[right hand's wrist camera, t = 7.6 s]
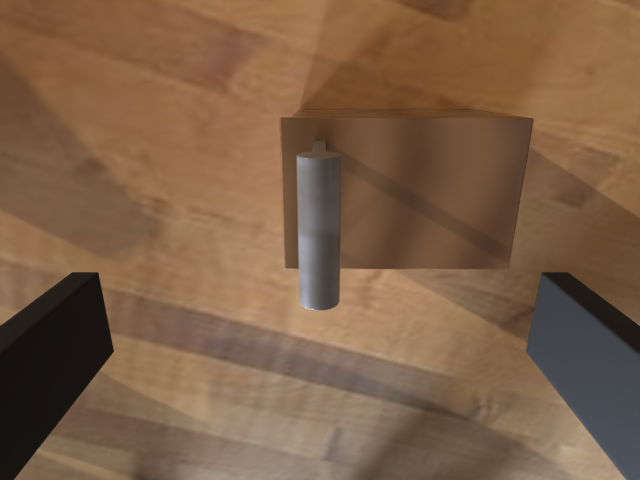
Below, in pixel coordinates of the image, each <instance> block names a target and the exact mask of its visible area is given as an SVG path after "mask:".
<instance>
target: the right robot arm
mask: <svg viewBox="0 0 640 480" xmlns="http://www.w3.org/2000/svg"><path fill="white" fill-rule="evenodd" d="M113 352H114V349H113V344H112V339H111V334H110V329H109V324H108V319H107V314H106V309H105V304H104V299H103V294H102V289H101V284H100V279H99V274H98V272H72V273H71V274H70V275H68V276H67V277H65V278H64V279H63V280H61V281H60V282H59V283H57V284H56V285H55V286H53V287H52V288H51V289H49V290H48V291H47V292H45V293H44V294H43V295H41V296H40V297H39V298H37V299H36V300H35V301H33V302H32V303H31V304H29V305H28V306H27V307H25V308H24V309H23V310H21V311H20V312H19V313H17V314H16V315H15V316H13V317H12V318H11V319H9V320H8V321H7V322H5V323H4V324H2V325H1V326H0V480H14V479H15V477H16V476H17V475H18V474H19V472H20V471H21V470H22V469H23V467H24V466H25V465H26V463H27V462H28V461H29V460H30V458H31V457H32V456H33V454H34V453H35V452H36V451H37V449H38V448H39V447H40V445H41V444H42V443H43V442H44V440H45V439H46V438H47V437H48V435H49V434H50V433H51V431H52V430H53V429H54V428H55V426H56V425H57V424H58V422H59V421H60V420H61V419H62V417H63V416H64V415H65V413H66V412H67V411H68V410H69V408H70V407H71V406H72V405H73V403H74V402H75V401H76V399H77V398H78V397H79V396H80V394H81V393H82V392H83V390H84V389H85V388H86V387H87V385H88V384H89V383H90V381H91V380H92V379H93V378H94V376H95V375H96V374H97V372H98V371H99V370H100V369H101V367H102V366H103V365H104V364H105V362H106V361H107V360H108V358H109V357H110V356H111V355H112V353H113ZM526 352H527V353H528V355H529V356H530V357H531V358H532V360H533V361H534V362H535V364H536V365H537V366H538V367H539V369H540V370H541V371H542V372H543V374H544V375H545V376H546V378H547V379H548V380H549V381H550V383H551V384H552V385H553V387H554V388H555V389H556V390H557V392H558V393H559V394H560V396H561V397H562V398H563V399H564V401H565V402H566V403H567V405H568V406H569V407H570V408H571V410H572V411H573V412H574V413H575V415H576V416H577V417H578V419H579V420H580V421H581V422H582V424H583V425H584V426H585V428H586V429H587V430H588V431H589V433H590V434H591V435H592V437H593V438H594V439H595V440H596V442H597V443H598V444H599V445H600V447H601V448H602V449H603V451H604V452H605V453H606V454H607V456H608V457H609V458H610V460H611V461H612V462H613V463H614V465H615V466H616V467H617V469H618V470H619V471H620V472H621V474H622V475H623V476H624V477H625V479H626V480H640V326H639V325H638V324H636V323H635V322H633V321H632V320H631V319H629V318H628V317H627V316H625V315H624V314H623V313H621V312H620V311H619V310H617V309H616V308H615V307H613V306H612V305H611V304H609V303H608V302H607V301H605V300H604V299H603V298H601V297H600V296H599V295H597V294H596V293H595V292H593V291H592V290H591V289H589V288H588V287H587V286H585V285H584V284H583V283H581V282H580V281H579V280H577V279H576V278H575V277H573V276H572V275H570V274H569V273H568V272H542V274H541V279H540V284H539V289H538V294H537V299H536V304H535V309H534V314H533V319H532V324H531V329H530V334H529V339H528V344H527V349H526Z"/></svg>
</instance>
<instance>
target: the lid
mask: <svg viewBox="0 0 640 480" xmlns="http://www.w3.org/2000/svg"><path fill="white" fill-rule="evenodd" d="M532 126H533V118H528V117H282V118H280V149H281V181H282V212H283V243H284V268H285V269H299V301H300V303H301V305H302V306H303V307H305V308H307V309H311V310H319V311H320V310H328V309H331V308H334V307H335V306H337V305H338V303H339V295H340V269H508V268H509V262H510V257H511V251H512V245H513V239H514V233H515V227H516V221H517V215H518V209H519V203H520V197H521V191H522V185H523V180H524V174H525V168H526V162H527V156H528V150H529V144H530V138H531V132H532Z"/></svg>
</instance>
